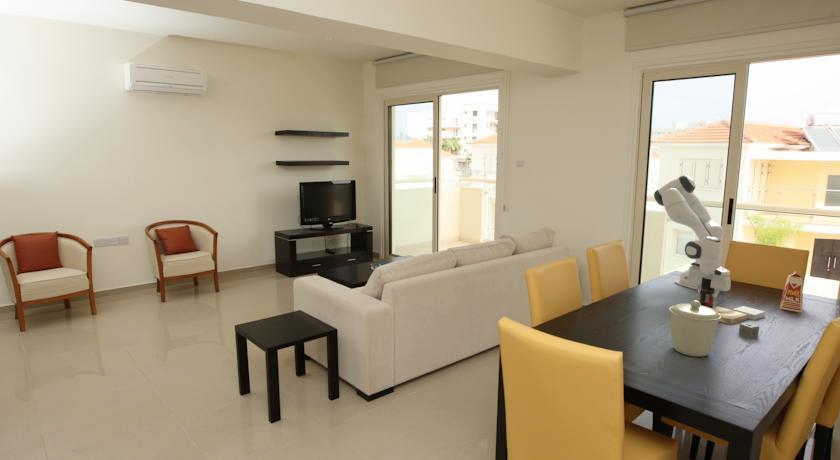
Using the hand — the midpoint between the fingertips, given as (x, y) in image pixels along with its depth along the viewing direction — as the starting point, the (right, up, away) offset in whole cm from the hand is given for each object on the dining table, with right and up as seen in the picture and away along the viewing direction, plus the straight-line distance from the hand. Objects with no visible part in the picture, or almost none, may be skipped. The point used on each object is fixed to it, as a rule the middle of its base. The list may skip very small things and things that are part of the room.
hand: (706, 295), depth 255 cm
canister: (-39, -15, -56) cm, 70 cm away
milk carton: (+43, -7, 0) cm, 43 cm away
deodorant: (0, -6, +1) cm, 6 cm away
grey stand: (+13, -8, -12) cm, 20 cm away
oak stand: (-1, -9, -15) cm, 18 cm away
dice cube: (-4, -13, -39) cm, 41 cm away
